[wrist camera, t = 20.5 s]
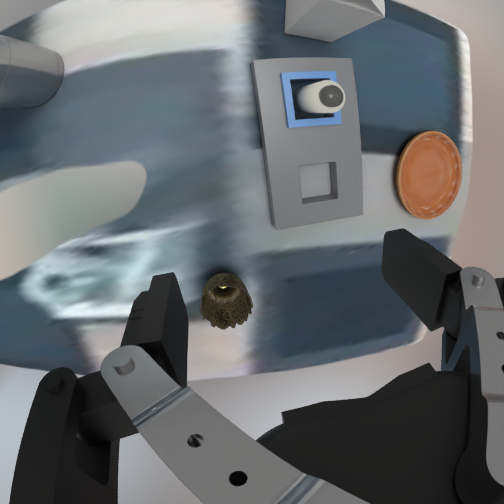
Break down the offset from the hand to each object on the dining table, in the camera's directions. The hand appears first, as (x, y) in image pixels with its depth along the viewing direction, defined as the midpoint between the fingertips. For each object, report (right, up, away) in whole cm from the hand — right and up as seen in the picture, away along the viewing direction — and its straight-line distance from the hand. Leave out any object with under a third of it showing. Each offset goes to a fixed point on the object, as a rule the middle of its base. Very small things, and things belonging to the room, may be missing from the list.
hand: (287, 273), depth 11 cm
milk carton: (+7, +34, +21) cm, 41 cm away
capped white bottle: (+6, +22, +26) cm, 35 cm away
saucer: (+29, +15, +34) cm, 47 cm away
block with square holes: (+7, +17, +29) cm, 34 cm away
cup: (-6, -4, +37) cm, 38 cm away
